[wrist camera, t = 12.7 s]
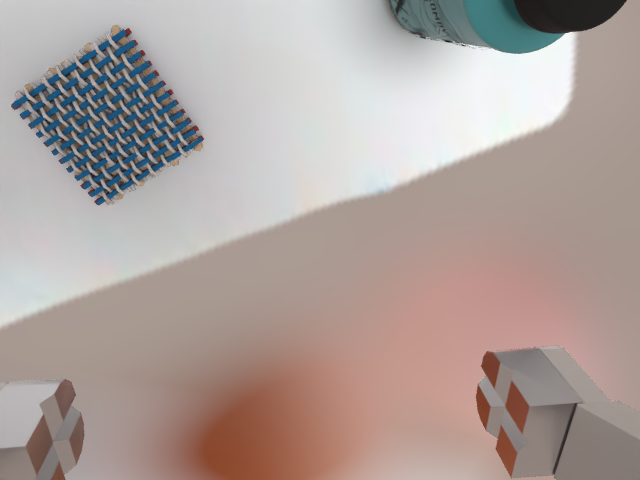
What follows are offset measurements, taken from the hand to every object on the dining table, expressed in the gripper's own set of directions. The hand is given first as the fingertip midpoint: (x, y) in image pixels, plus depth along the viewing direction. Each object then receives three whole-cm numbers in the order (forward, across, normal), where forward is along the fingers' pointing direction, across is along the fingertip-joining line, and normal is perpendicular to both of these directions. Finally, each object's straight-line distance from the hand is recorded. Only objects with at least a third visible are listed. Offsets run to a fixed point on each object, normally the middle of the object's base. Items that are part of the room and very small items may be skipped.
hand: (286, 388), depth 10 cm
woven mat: (+32, +12, +1) cm, 34 cm away
